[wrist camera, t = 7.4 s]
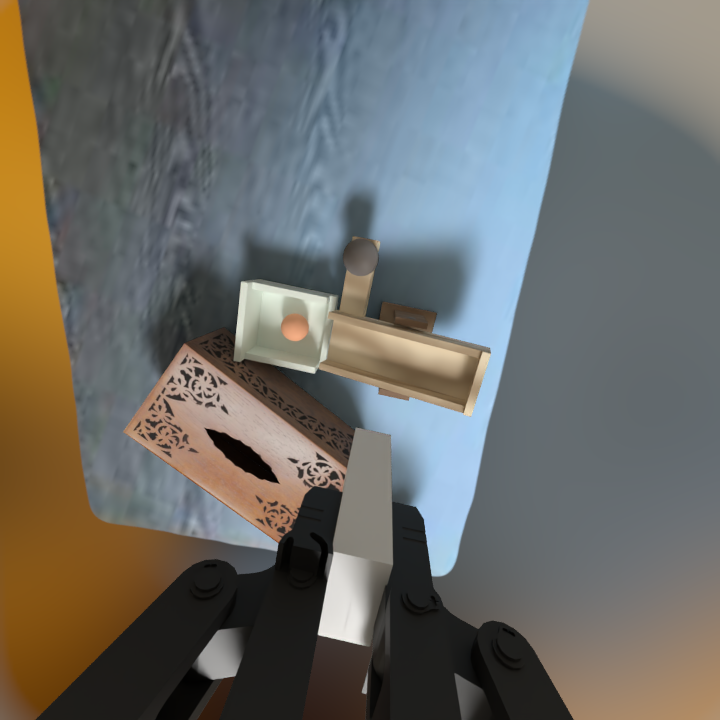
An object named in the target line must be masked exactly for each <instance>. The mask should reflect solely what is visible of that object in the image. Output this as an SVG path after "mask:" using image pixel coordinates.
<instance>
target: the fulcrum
mask: <svg viewBox="0 0 720 720" xmlns="http://www.w3.org/2000/svg"><path fill="white" fill-rule="evenodd" d="M436 315H437V313H436V312H431V311H426V310H421V309H417V308H412V307H407V306H402V305H397V304H393V303H388V302H383V303H382V308H381V312H380V317H379V320H381V321H385V322H389V323H393V324H397V325H401V326H405V327H409V328H413V329H417V330H421V331H425V332H429V333H432V330H433V327H434V323H435V319H436ZM378 394H380V395H385V396H389V397H394V398H399V399H403V400H408V401H409V396H405V395H402V394H399V393H396V392H392V391H389V390H386V389H382V388H379V393H378Z"/></svg>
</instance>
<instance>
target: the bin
mask: <svg viewBox="0 0 720 720" xmlns="http://www.w3.org/2000/svg"><path fill="white" fill-rule="evenodd" d="M338 299H339V295H334V294H329V293H324V292H320V291H315V290H310V289H305V288H300V287H296V286H291V285H286V284H281V283H276V282H272V281H267V280H262V279H256V280H249V281H241V289H240V299H239V309H238V319H237V330H236V340H235V350H234V360H233V361H237V362H241V361H242V360H244V359H248V360H253V361H257V362H262V363H267V364H271V365H276V366H281V367H285V368H290V369H295V370H300V371H304V372H309V373H314V374H315V372H316V371H317V369H318V368H319V365H320V362H322V361H324V360H326V359H327V355H328V349H329V343H330V338H331V332H332V326H333V321H334V320H331V319H328V313H329V312H330V311H334V310H337V305H338ZM290 314H300V315H302V316H303V317H305V318H306V320H307V321H308V324H309V331H308V334H307V335H306V336H305V338H303V339H302V340H299V341H291V340H289V339H287V338H286V337H285V336H284V335H283V333H282V331H281V323H282V321H283V319H284V318H285V317H286V316H288V315H290Z"/></svg>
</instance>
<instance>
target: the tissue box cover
mask: <svg viewBox="0 0 720 720" xmlns="http://www.w3.org/2000/svg"><path fill="white" fill-rule="evenodd" d="M235 340H236V336H235V335H233V334H232V333H231V332H229V331H228V330H227V329H226V328H224V327H223V328H221V329H218V330H216V331H213V332H211V333H208V334H206V335H203V336H201V337H198V338H196V339H193V340H191V341H188V342H186V343H184V344H183V346H182V347H181V349H180V350H179V352H178V353H177V355H176V356H175V358H174V359H173V360H172V362H171V363H170V365H169V366H168V368H167V369H166V371H165V372H164V373H163V375H162V376H161V378H160V379H159V381H158V382H157V384H156V385H155V387H154V388H153V389H152V391H151V392H150V394H149V395H148V397H147V398H146V400H145V401H144V403H143V404H142V405H141V407H140V408H139V410H138V411H137V413H136V414H135V416H134V417H133V418H132V420H131V421H130V423H129V424H128V426H127V427H126V429H125V430H124V433H126V434H127V435H128V436H130V437H131V438H133V439H134V440H135V441H137V442H138V443H140V444H141V445H142V446H144V447H145V448H147V449H148V450H149V451H151V452H152V453H154V454H155V455H156V456H158V457H159V458H160V459H162V460H163V461H165V462H166V463H167V464H169V465H170V466H172V467H173V468H174V469H176V470H177V471H179V472H180V473H181V474H183V475H184V476H186V477H187V478H188V479H190V480H191V481H193V482H194V483H195V484H197V485H198V486H200V487H201V488H202V489H204V490H205V491H207V492H208V493H209V494H211V495H212V496H213V497H215V498H216V499H218V500H219V501H220V502H222V503H223V504H225V505H226V506H227V507H229V508H230V509H232V510H233V511H234V512H236V513H237V514H239V515H240V516H241V517H243V518H244V519H246V520H247V521H248V522H250V523H251V524H253V525H254V526H255V527H257V528H258V529H259V530H261V531H262V532H264V533H265V534H266V535H268V536H269V537H271V538H272V539H273V540H275V541H276V542H278V543H279V541H280V540H281V539H282V537H283V536H284V534H286V533H288V532H289V531H291V530H292V529H293V526H294V523H295V521H296V518H297V515H298V512H299V509H300V507H301V504H302V501H303V498H304V495H305V494H306V493H307V492H308V491H309V490H310V489H311V488H312V487H314V486H318V487H322V488H327V489H331V490H336V491H340V492H342V490H343V485H344V480H345V475H346V471H347V466H348V461H349V457H350V452H351V448H352V443H353V438H354V434H355V430H353V429H352V428H351V427H350V426H348V425H347V424H346V423H345V422H343V421H342V420H341V419H340V418H338V417H337V416H336V415H334V414H333V413H332V412H331V411H329V410H328V409H327V408H326V407H324V406H323V405H322V404H321V403H319V402H318V401H317V400H315V399H314V398H313V397H312V396H310V395H309V394H308V393H307V392H305V391H304V390H303V389H302V388H300V387H299V386H298V385H296V384H295V383H294V382H293V381H291V380H290V379H289V378H288V377H286V376H285V375H284V374H283V373H281V372H280V371H279V370H278V369H276V368H275V367H274V366H272V365H271V364H267V363H262V362H257V361H253V360H248V359H244V360H242V361H241V362H237V361H233V360H234V350H235ZM212 430H213V431H214V432H213V431H212ZM216 433H217V434H218V435H217V434H216ZM220 436H221V437H222V438H221V437H220ZM224 439H225V440H226V441H225V440H224ZM228 442H229V443H230V444H229V443H228ZM232 445H233V446H234V447H233V446H232ZM236 448H237V449H238V450H237V449H236ZM239 450H240V451H241V452H242V453H241V452H240V451H239ZM243 453H244V454H245V455H244V454H243ZM247 456H248V457H249V458H248V457H247ZM251 459H252V460H253V461H252V460H251ZM255 462H256V463H257V464H256V463H255ZM259 465H260V466H261V467H260V466H259ZM263 468H264V469H265V470H264V469H263ZM267 471H268V472H269V473H268V472H267ZM271 474H272V475H273V476H272V475H271ZM274 476H275V477H276V478H277V479H276V478H275V477H274Z"/></svg>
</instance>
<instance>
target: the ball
mask: <svg viewBox="0 0 720 720" xmlns="http://www.w3.org/2000/svg"><path fill="white" fill-rule="evenodd" d="M281 331H282V333H283V335H284V336H285V337H286V338H287V339H289V340H291V341H299V340H302V339H303V338H305V336H306V335H307V334H308V331H309V324H308V321H307V320H306V318H305V317H303V316H302V315H300V314H290V315H288V316H286V317H285V318H284V319H283V321H282V323H281Z"/></svg>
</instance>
